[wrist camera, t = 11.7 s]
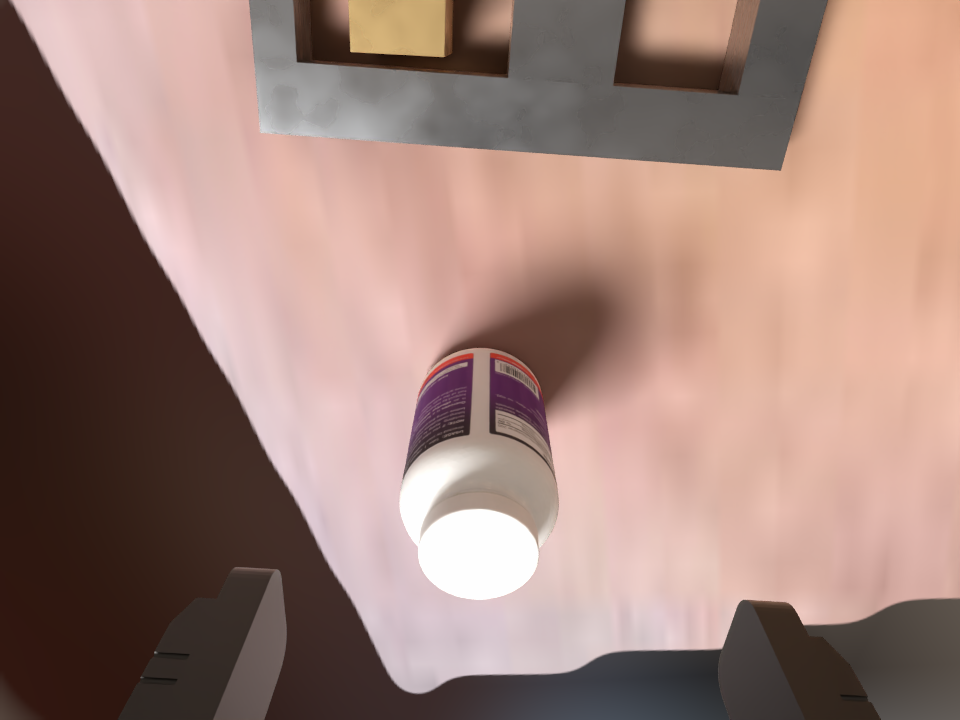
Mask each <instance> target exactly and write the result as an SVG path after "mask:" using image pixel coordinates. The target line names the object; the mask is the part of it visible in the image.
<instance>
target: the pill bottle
mask: <svg viewBox="0 0 960 720" xmlns="http://www.w3.org/2000/svg"><path fill="white" fill-rule="evenodd" d="M399 502H400V512H401V516H402V519H403V522H404V525H405V527H406V529H407V532H408V534H409V535H410V537H411V538H412V540H413V541H414V542H415V543H416V545H417V546H418V557H419V562H420V565H421V568H422V570H423V572H424V573H425V575H426V576H427V577H428V579H429V580H430V581H431V582H432V583H433V584H435V585H436V586H437V587H439V588H440V589H442V590H444V591H446V592H447V593H450V594H452V595H455V596H458V597H462V598H468V599H490V598H496V597H499V596H503V595H506V594H508V593H510V592H513V591H514V590H516V589H518V588H519V587H521V586H522V585H523V584H524V583H526V582H527V581H528V580H529V578H530V577H531V576H532V574H533V573H534V571H535V569H536V567H537V564H538V560H539V548H540V547H541V546H542V545H543V543H544V542H545V541H546V540H547V538H548V537H549V535H550V533H551V532H552V530H553V528H554V525H555V522H556V519H557V515H558V508H559V499H558V490H557V483H556V478H555V472H554V466H553V460H552V453H551V447H550V440H549V434H548V427H547V421H546V415H545V408H544V401H543V396H542V392H541V388H540V386H539V383H538V381H537V379H536V377H535V376H534V374H533V373H532V372H531V370H530V369H529V368H528V367H527V366H526V365H525V364H524V363H523V362H521V361H520V360H519V359H517V358H516V357H514V356H512V355H510V354H508V353H505V352H502V351H499V350H495V349H489V348H471V349H466V350H461V351H458V352H455V353H453V354H451V355H449V356H447V357H445V358H444V359H442V360H441V361H439V362H438V363H437V364H436V365H435V366H434V367H433V368H432V369H431V370H430V371H429V372H428V374H427V375H426V377H425V378H424V380H423V382H422V385H421V387H420V390H419V394H418V399H417V404H416V410H415V416H414V421H413V426H412V432H411V437H410V443H409V448H408V454H407V460H406V465H405V470H404V475H403V480H402V485H401V491H400V501H399Z"/></svg>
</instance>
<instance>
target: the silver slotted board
mask: <svg viewBox="0 0 960 720" xmlns="http://www.w3.org/2000/svg"><path fill="white" fill-rule="evenodd" d="M827 1H828V0H738V2H737V6H736V11H735V16H734V20H733V25H732V29H731V34H730V38H729V43H728V47H727V52H726V57H725V61H724V66H723V70H722V75H721V79H720V84H719V88H718V90H707V89H693V88H680V87H667V86H653V85H640V84H626V83H613V82H614V76H615V69H616V62H617V56H618V49H619V42H620V36H621V29H622V22H623V16H624V9H625V2H626V0H513V2H512V14H511V27H510V40H509V52H508V65H507V75H506V74H493V73H479V72H466V71H453V70H439V69H426V68H412V67H399V66H386V65H372V64H359V63H346V62H332V61H319V60H312V38H311V17H310V0H249V5H250V17H251V29H252V40H253V52H254V64H255V76H256V87H257V99H258V111H259V123H260V133H271V134H284V135H298V136H312V137H326V138H339V139H353V140H367V141H381V142H394V143H408V144H422V145H436V146H449V147H463V148H477V149H491V150H504V151H518V152H532V153H546V154H559V155H573V156H587V157H601V158H614V159H628V160H642V161H656V162H669V163H683V164H697V165H711V166H724V167H738V168H752V169H766V170H779V171H781V168H782V164H783V161H784V157H785V153H786V150H787V146H788V142H789V139H790V135H791V132H792V128H793V124H794V121H795V117H796V113H797V110H798V106H799V103H800V99H801V95H802V92H803V88H804V84H805V81H806V77H807V73H808V70H809V66H810V63H811V59H812V55H813V52H814V48H815V44H816V41H817V37H818V34H819V30H820V26H821V23H822V19H823V15H824V12H825V8H826V4H827Z"/></svg>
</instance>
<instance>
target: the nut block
mask: <svg viewBox="0 0 960 720" xmlns="http://www.w3.org/2000/svg"><path fill="white" fill-rule="evenodd" d="M348 2H349V28H350V52H360V53H378V54H397V55H415V56H433V57H445V56H447V55H449V54H451V53H452V30H453V0H348Z"/></svg>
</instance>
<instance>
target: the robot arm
mask: <svg viewBox="0 0 960 720" xmlns="http://www.w3.org/2000/svg"><path fill="white" fill-rule="evenodd" d="M286 637H287V629H286V618H285V608H284V598H283V588H282V579H281V573H280V571H279V570H276V569H259V568H242V567H235V568H233V569H232V570H231V572H230V573H229V575H228V577H227V579H226V581H225V583H224V585H223V587H222V589H221V591H220V593H219V595H218V597H217V599H211V598H196V599H195V600H194V601H193V602H192V603H191V604H190V605H189V606H187V607H186V608H185V609H184V610H183V611H182V612H181V613H180V614H179V615H178V616H177V617H176V618H175V619H174V620H173V621H172V622H171V623H170V625H169V626H168V628H167V630H166V632H165V634H164V636H163V637H162V639H161V641H160V643H159V645H158V646H157V648H156V650H155V654H154V657H153V658H151V659H150V661H149V663H148V665H147V667H146V668H145V671H144V673H143V674H142V676H141V681H140V683H137V685H136V687H135V689H134V691H133V692H132V694H131V696H130V698H129V700H128V702H127V703H126V705H125V707H124V709H123V711H122V713H121V714H120V716H119V718H118V720H264V719H265V716H266V712H267V709H268V706H269V703H270V700H271V697H272V694H273V691H274V688H275V685H276V682H277V679H278V676H279V673H280V670H281V667H282V663H283V658H284V654H285V648H286ZM718 677H719V685H720V690H721V694H722V698H723V701H724V703H725V706H726V709H727V712H728V715H729V718H730V720H881V719H880V717H879V715H878V713H877V712H876V710H875V708H874V706H873V705H872V703H871V702H868V699H867V694H866V692H865V691H864V689H863V687H862V685H861V684H860V682H859V680H858V678H857V676H856V675H855V673H854V671H853V670H852V668H851V666H850V664H848V663H847V662H846V661H845V659H844V658H843V657H842V656H841V655H840V654H839V653H838V652H837V651H836V650H835V649H834V648H833V647H832V646H831V645H830V644H829V643H828V642H827V641H826V640H825V639H824V638H823V637H811V636H809V635H808V633H807V631H806V629H805V628H804V626H803V624H802V622H801V620H800V618H799V616H798V614H797V613H796V611H795V609H794V608H793V607H792V606H791V605H790V604H789V603H786V602H771V601H755V600H742V601H741V602H740V603H739V605H738V607H737V609H736V612H735V615H734V618H733V621H732V624H731V626H730V629H729V632H728V635H727V638H726V641H725V643H724V646H723V649H722V652H721V655H720V659H719V666H718Z"/></svg>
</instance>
